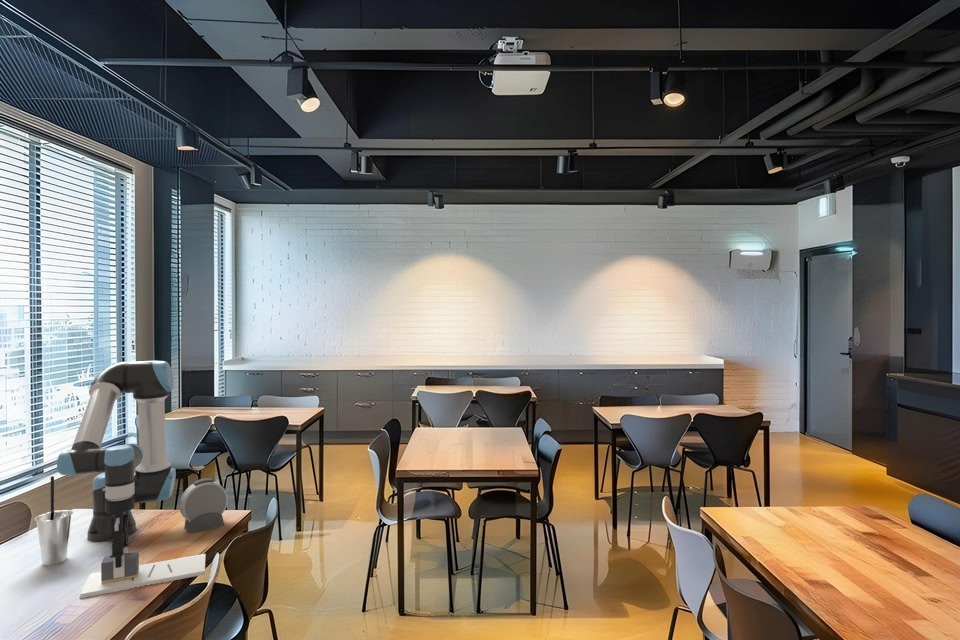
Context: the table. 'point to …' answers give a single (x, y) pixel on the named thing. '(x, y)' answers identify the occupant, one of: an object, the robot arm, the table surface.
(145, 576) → the board
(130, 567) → the block
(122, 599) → the table surface
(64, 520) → the metal cup with straw
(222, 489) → the alarm clock
